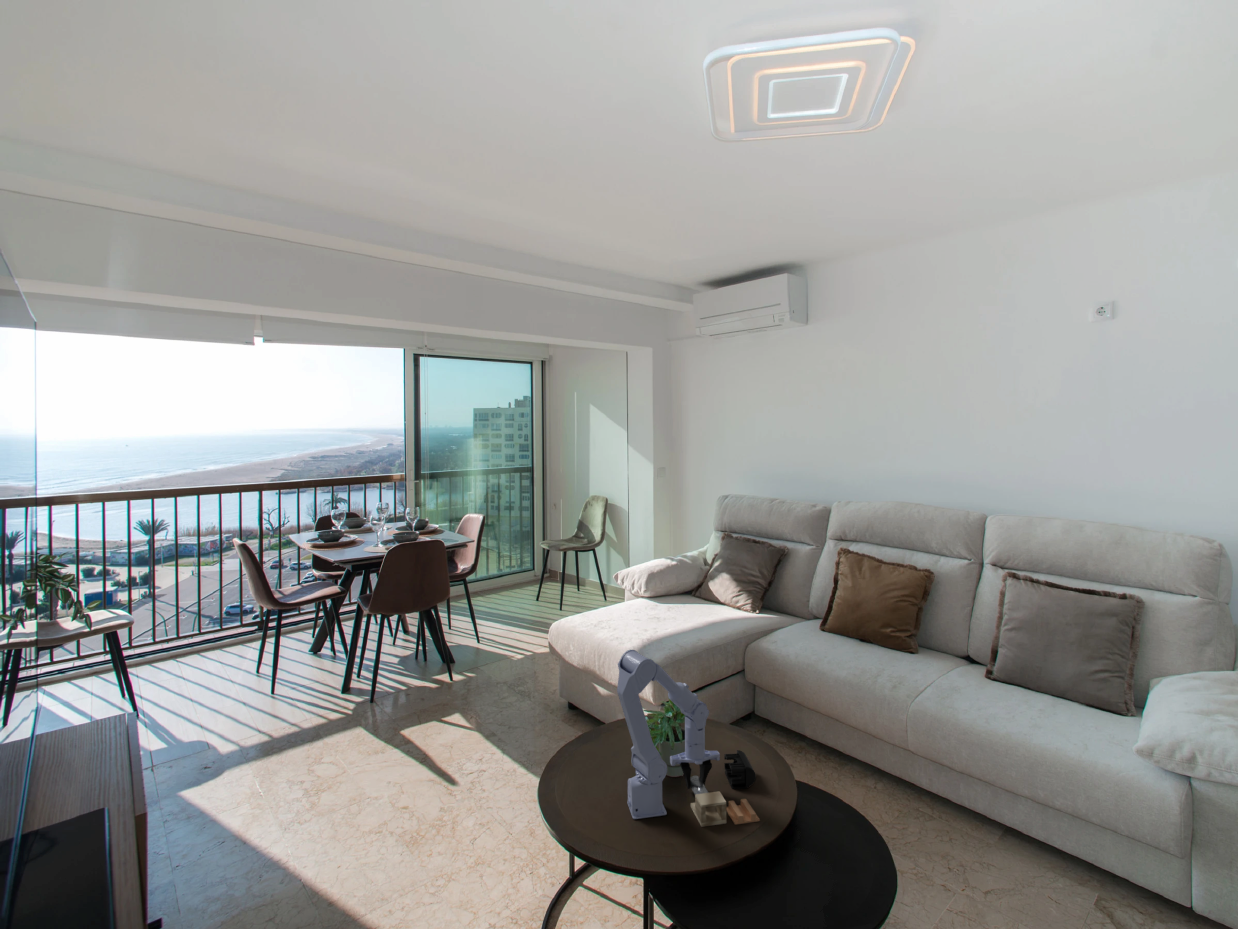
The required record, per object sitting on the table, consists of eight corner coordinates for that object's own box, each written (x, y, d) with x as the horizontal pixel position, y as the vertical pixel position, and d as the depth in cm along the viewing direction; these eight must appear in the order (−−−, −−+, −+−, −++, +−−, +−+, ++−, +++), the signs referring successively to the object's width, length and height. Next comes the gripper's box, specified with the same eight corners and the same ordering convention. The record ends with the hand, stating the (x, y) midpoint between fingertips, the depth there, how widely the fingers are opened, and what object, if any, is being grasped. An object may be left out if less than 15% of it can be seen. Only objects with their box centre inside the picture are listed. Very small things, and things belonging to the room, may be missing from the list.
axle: (712, 807, 164) (712, 794, 164) (699, 808, 164) (699, 795, 164) (700, 787, 174) (700, 775, 174) (688, 788, 173) (688, 776, 173)
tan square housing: (701, 826, 158) (701, 805, 157) (690, 806, 166) (690, 786, 166) (726, 823, 159) (726, 802, 159) (714, 803, 168) (714, 783, 168)
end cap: (756, 789, 174) (756, 766, 174) (732, 790, 174) (732, 768, 174) (746, 771, 184) (746, 749, 184) (724, 772, 184) (723, 750, 184)
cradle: (734, 824, 158) (734, 816, 158) (725, 809, 165) (725, 801, 165) (759, 821, 160) (759, 813, 160) (748, 805, 166) (748, 798, 166)
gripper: (674, 749, 168) (675, 797, 168) (723, 744, 170) (723, 790, 171) (667, 737, 175) (668, 783, 175) (714, 732, 177) (715, 777, 178)
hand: (695, 786), depth 173 cm, fingers closed on axle, 4 cm apart
